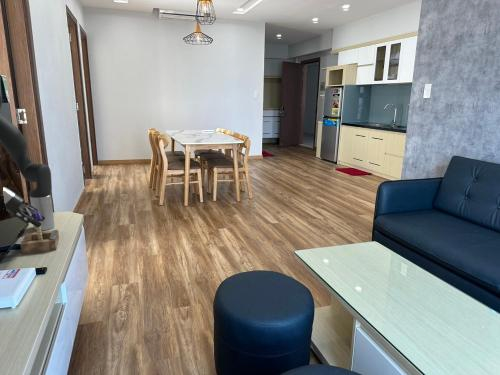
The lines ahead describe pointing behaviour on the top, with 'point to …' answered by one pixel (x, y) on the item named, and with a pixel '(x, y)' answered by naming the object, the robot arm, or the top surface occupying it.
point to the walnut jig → (40, 242)
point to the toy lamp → (39, 217)
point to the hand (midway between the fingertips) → (42, 222)
